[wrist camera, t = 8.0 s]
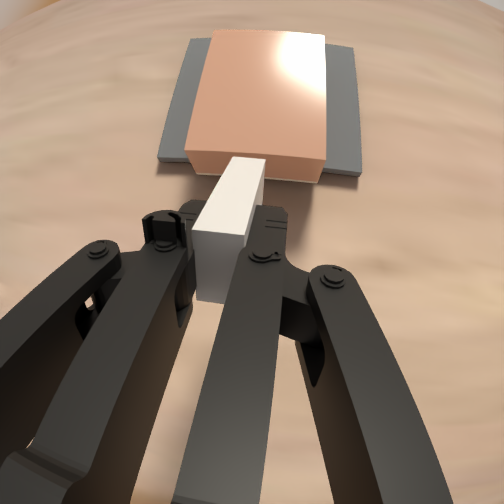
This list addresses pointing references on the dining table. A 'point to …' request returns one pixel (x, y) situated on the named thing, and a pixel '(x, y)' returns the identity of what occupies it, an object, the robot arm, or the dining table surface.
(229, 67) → the terracotta block
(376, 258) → the dining table surface
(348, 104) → the slate mat
